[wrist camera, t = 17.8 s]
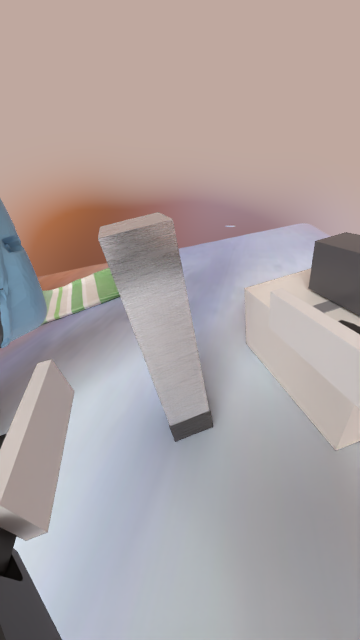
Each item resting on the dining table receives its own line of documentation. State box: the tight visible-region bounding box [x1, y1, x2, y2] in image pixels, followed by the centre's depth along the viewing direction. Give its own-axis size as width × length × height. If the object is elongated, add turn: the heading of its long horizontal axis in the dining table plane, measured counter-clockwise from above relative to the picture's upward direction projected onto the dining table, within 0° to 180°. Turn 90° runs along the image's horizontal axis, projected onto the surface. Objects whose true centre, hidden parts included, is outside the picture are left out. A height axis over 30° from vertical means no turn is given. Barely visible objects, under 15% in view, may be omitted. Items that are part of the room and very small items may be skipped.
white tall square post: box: [98, 212, 213, 442], centre depth 17 cm, size 4×4×18 cm
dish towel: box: [41, 268, 120, 325], centre depth 53 cm, size 18×23×3 cm
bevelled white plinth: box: [244, 269, 360, 451], centre depth 21 cm, size 11×14×8 cm
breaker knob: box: [308, 232, 360, 315], centre depth 18 cm, size 3×6×4 cm, turn 15°
